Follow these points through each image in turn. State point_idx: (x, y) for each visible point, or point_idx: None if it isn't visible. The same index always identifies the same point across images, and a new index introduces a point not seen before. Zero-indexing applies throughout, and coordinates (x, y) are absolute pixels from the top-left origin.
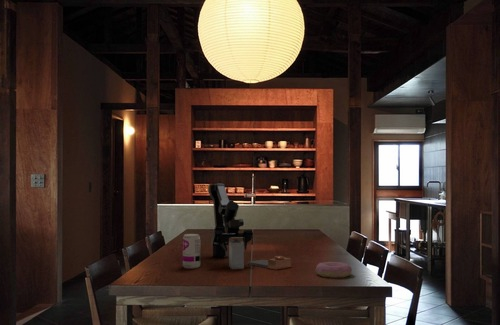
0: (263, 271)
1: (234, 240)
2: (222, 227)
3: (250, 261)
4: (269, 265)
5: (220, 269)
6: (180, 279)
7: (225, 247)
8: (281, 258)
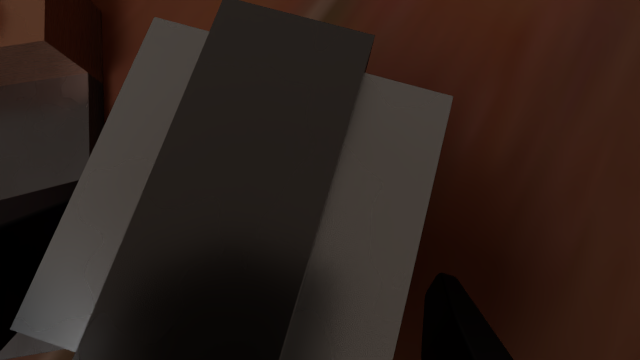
0: (213, 8)
1: (334, 163)
2: None
3: (54, 345)
4: (85, 56)
5: (450, 250)
6: None
7: (479, 311)
8: None
